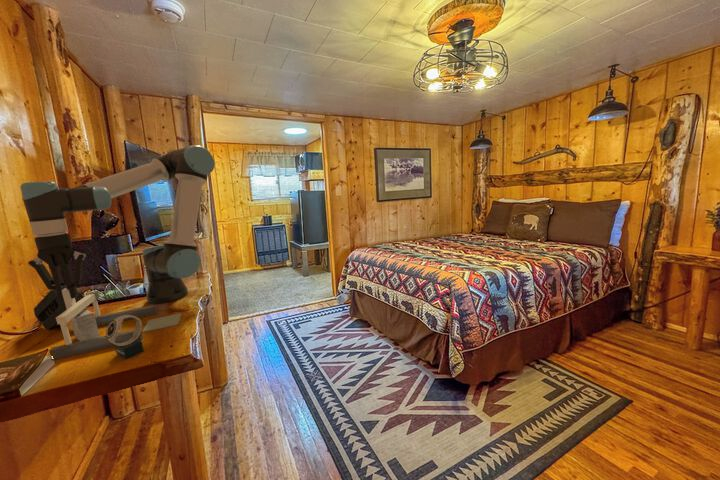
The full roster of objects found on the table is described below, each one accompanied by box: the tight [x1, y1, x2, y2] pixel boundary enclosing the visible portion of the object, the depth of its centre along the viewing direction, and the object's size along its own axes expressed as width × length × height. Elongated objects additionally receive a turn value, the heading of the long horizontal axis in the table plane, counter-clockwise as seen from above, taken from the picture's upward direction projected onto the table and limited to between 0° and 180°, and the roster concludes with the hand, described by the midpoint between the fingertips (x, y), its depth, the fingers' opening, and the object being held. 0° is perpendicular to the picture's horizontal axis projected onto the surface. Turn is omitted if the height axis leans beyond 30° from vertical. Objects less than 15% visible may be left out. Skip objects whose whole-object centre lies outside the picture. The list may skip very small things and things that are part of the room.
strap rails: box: [48, 304, 158, 360], centre depth 98 cm, size 21×24×3 cm
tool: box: [33, 284, 86, 331], centre depth 105 cm, size 6×19×15 cm
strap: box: [56, 290, 101, 345], centre depth 95 cm, size 2×24×9 cm, turn 24°
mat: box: [142, 313, 183, 334], centre depth 103 cm, size 10×10×1 cm
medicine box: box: [70, 308, 101, 342], centre depth 95 cm, size 8×4×9 cm, turn 56°
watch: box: [105, 315, 145, 360], centre depth 83 cm, size 6×8×11 cm
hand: (72, 308), depth 93 cm, fingers closed
